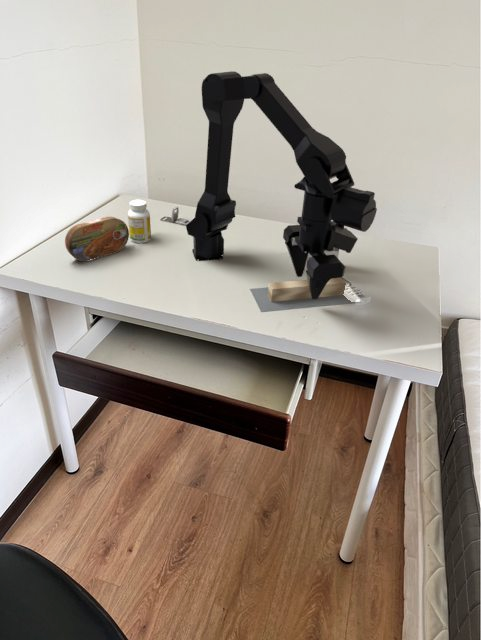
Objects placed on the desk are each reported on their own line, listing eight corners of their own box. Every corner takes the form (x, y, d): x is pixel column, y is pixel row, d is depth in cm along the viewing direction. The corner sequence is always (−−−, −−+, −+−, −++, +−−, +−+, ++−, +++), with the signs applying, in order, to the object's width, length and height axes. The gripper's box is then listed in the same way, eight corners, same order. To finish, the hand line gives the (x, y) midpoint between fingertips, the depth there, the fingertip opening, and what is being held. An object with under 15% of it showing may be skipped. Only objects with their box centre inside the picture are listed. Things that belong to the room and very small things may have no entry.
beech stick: (271, 301, 95) (272, 289, 93) (267, 295, 97) (268, 283, 95) (343, 295, 98) (345, 282, 96) (338, 289, 100) (341, 276, 98)
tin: (72, 265, 105) (66, 231, 100) (66, 260, 107) (60, 226, 102) (131, 248, 114) (128, 215, 109) (124, 243, 115) (121, 211, 111)
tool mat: (260, 314, 92) (261, 312, 92) (249, 291, 99) (249, 288, 99) (362, 304, 97) (363, 301, 96) (344, 282, 104) (345, 280, 103)
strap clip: (192, 223, 128) (191, 208, 126) (186, 227, 126) (186, 212, 123) (164, 217, 131) (164, 203, 128) (159, 221, 128) (158, 206, 126)
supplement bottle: (137, 245, 115) (134, 208, 109) (125, 238, 118) (122, 201, 113) (155, 239, 118) (153, 203, 113) (143, 232, 121) (141, 197, 116)
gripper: (378, 233, 82) (362, 307, 91) (336, 196, 97) (325, 263, 106) (319, 237, 79) (308, 313, 88) (286, 199, 94) (279, 267, 103)
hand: (306, 287), depth 96 cm, fingers open, 9 cm apart
